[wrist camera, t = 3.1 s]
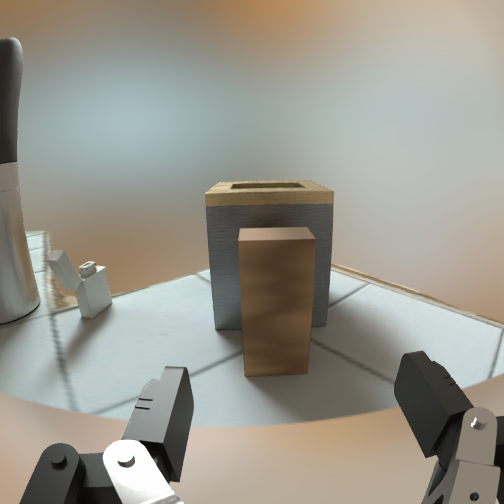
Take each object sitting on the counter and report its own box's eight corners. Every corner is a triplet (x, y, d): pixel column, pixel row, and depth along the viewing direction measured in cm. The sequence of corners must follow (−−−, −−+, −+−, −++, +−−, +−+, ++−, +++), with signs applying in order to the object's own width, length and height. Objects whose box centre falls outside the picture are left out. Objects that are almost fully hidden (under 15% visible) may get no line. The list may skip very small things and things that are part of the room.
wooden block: (244, 376, 21) (238, 240, 18) (245, 352, 24) (240, 228, 21) (307, 373, 21) (315, 238, 18) (301, 350, 24) (307, 227, 21)
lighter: (101, 300, 33) (89, 233, 30) (113, 302, 32) (100, 233, 30) (63, 329, 26) (43, 253, 24) (75, 332, 26) (55, 254, 23)
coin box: (215, 329, 27) (205, 193, 23) (224, 284, 37) (218, 182, 33) (326, 325, 27) (333, 191, 23) (308, 282, 37) (310, 180, 33)
